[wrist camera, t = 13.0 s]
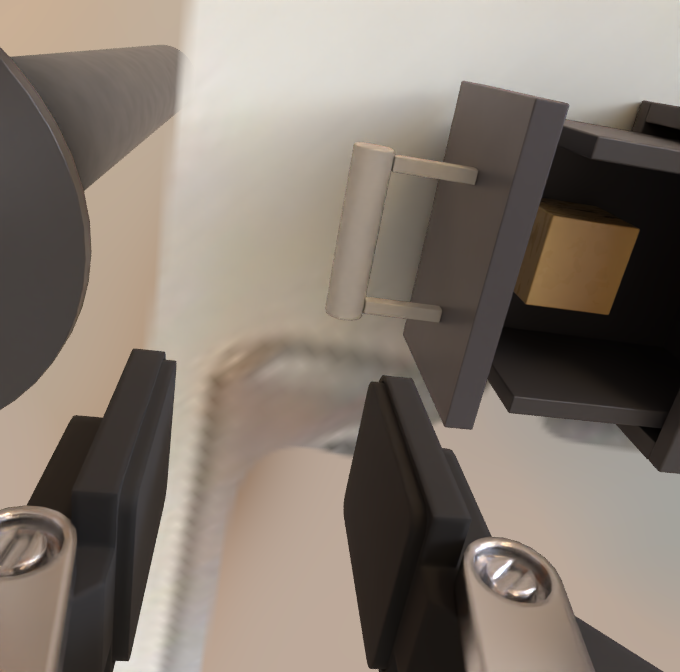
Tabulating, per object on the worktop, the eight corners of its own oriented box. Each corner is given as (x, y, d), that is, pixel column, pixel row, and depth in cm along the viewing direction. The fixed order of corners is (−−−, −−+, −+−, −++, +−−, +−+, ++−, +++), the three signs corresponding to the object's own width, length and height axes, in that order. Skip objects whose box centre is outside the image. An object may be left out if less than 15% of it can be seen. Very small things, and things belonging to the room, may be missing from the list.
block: (496, 274, 32) (525, 304, 28) (518, 193, 30) (553, 215, 26) (571, 284, 32) (609, 316, 29) (597, 206, 31) (641, 228, 27)
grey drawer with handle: (308, 323, 33) (321, 416, 25) (351, 60, 28) (385, 69, 20) (653, 364, 36) (762, 458, 28) (748, 134, 31) (914, 168, 23)
